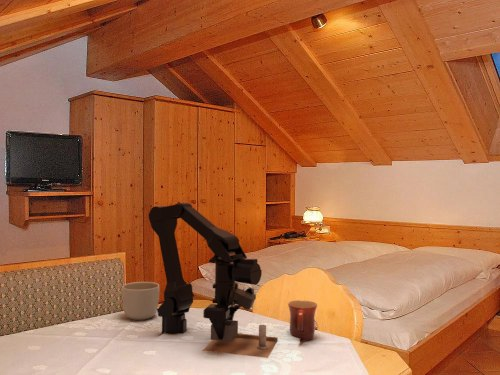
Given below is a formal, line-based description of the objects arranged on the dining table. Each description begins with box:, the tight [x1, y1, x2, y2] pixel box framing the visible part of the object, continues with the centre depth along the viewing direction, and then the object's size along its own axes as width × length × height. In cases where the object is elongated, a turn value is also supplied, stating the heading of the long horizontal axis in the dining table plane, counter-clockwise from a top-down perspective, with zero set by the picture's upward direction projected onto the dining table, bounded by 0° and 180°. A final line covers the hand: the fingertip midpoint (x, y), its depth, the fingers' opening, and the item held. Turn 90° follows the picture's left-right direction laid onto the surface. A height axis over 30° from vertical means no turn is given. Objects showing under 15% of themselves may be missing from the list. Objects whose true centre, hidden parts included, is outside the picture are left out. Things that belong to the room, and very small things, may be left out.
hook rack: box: [202, 324, 279, 359], centre depth 124 cm, size 18×13×7 cm
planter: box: [121, 281, 160, 321], centre depth 153 cm, size 12×12×11 cm
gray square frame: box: [210, 319, 239, 342], centre depth 126 cm, size 6×6×4 cm
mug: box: [287, 299, 318, 342], centre depth 133 cm, size 12×9×10 cm
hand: (224, 335), depth 126 cm, fingers closed on gray square frame, 6 cm apart
